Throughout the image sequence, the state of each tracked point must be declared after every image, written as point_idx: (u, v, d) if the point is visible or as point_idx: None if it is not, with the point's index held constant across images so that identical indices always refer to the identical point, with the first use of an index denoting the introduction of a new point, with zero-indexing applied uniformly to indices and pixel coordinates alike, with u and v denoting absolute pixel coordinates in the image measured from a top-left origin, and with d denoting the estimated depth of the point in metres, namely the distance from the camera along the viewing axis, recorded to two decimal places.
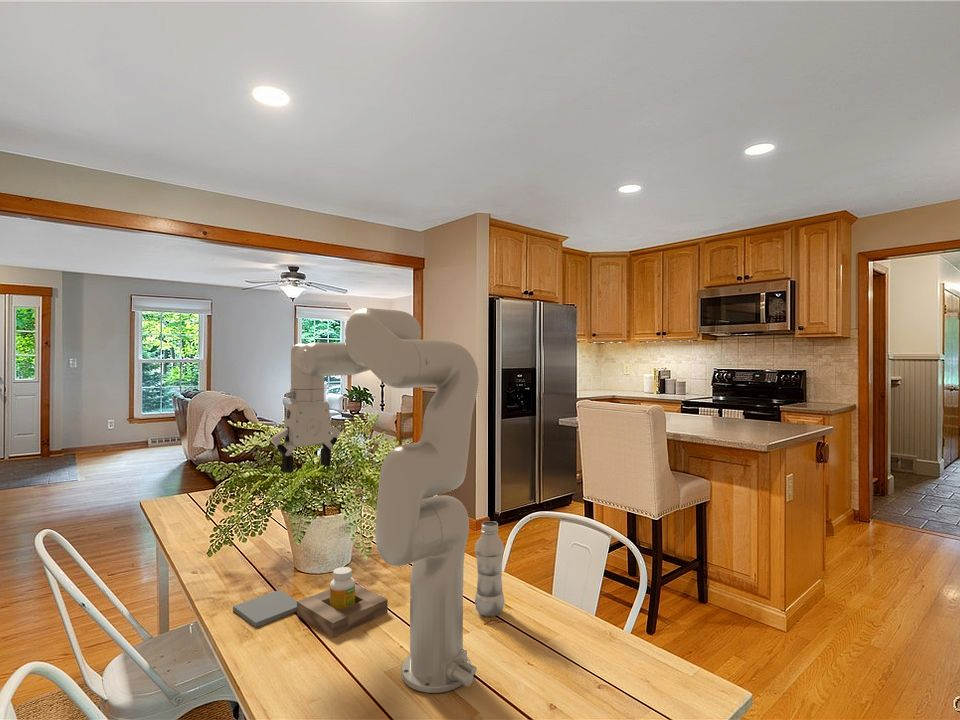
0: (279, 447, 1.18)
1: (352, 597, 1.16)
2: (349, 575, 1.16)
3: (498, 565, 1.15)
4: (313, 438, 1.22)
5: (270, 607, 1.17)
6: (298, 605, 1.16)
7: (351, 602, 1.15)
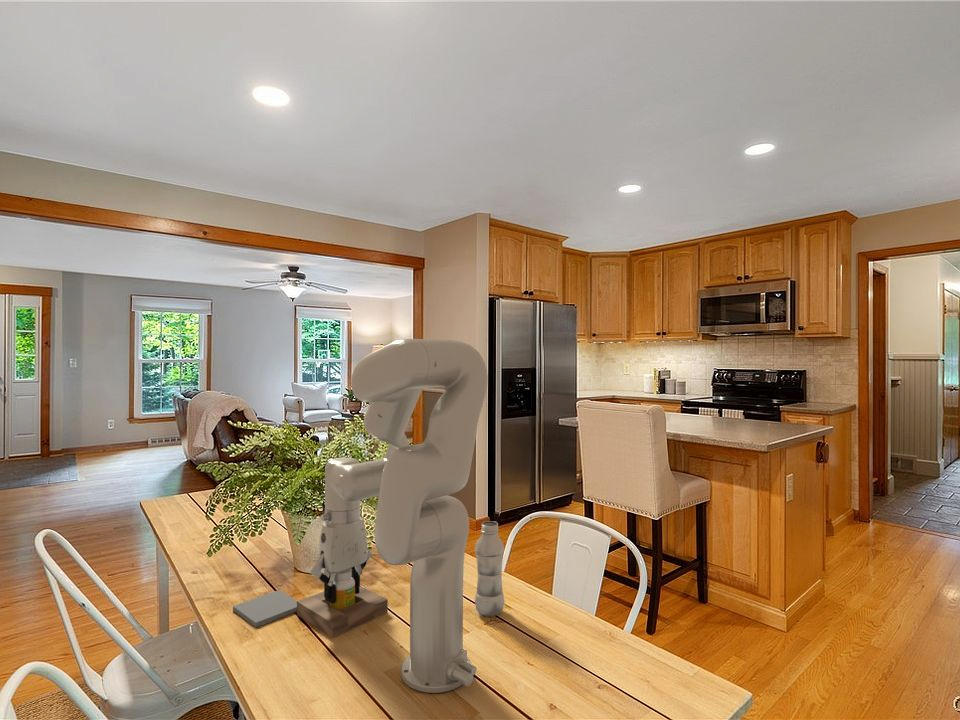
0: (322, 578, 1.12)
1: (352, 597, 1.16)
2: (349, 575, 1.16)
3: (498, 565, 1.15)
4: (349, 561, 1.15)
5: (270, 607, 1.17)
6: (298, 605, 1.16)
7: (351, 602, 1.15)
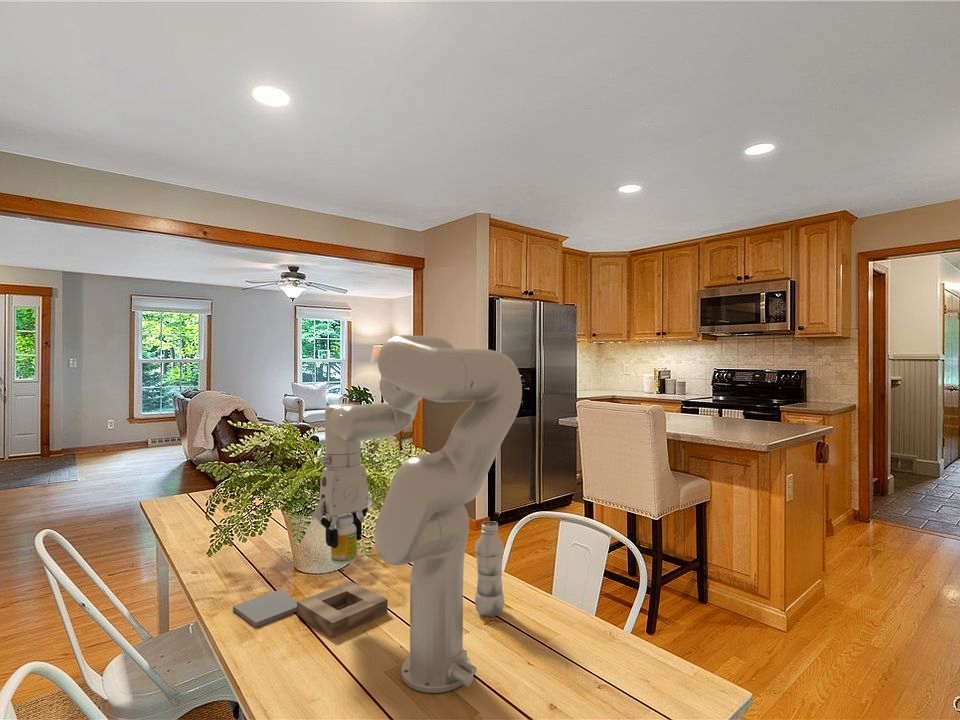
0: (323, 521, 1.11)
1: (353, 543, 1.15)
2: (350, 521, 1.15)
3: (498, 565, 1.15)
4: (350, 506, 1.14)
5: (270, 607, 1.17)
6: (298, 605, 1.16)
7: (352, 548, 1.15)
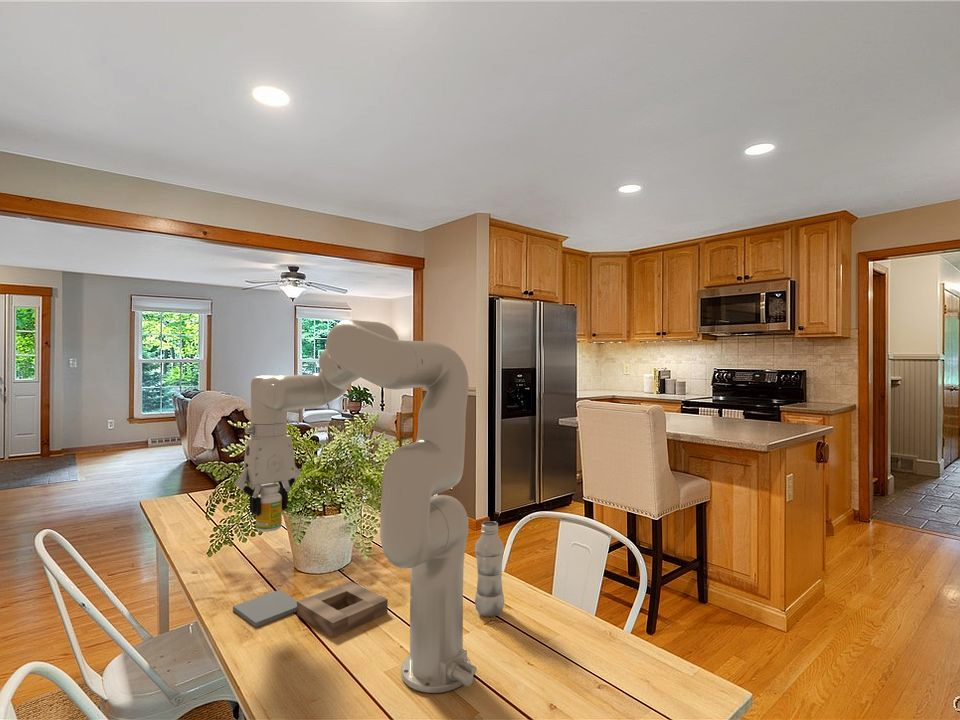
0: (245, 489, 1.13)
1: (278, 511, 1.17)
2: (275, 489, 1.17)
3: (498, 565, 1.15)
4: (274, 475, 1.16)
5: (270, 607, 1.17)
6: (298, 605, 1.16)
7: (276, 516, 1.17)
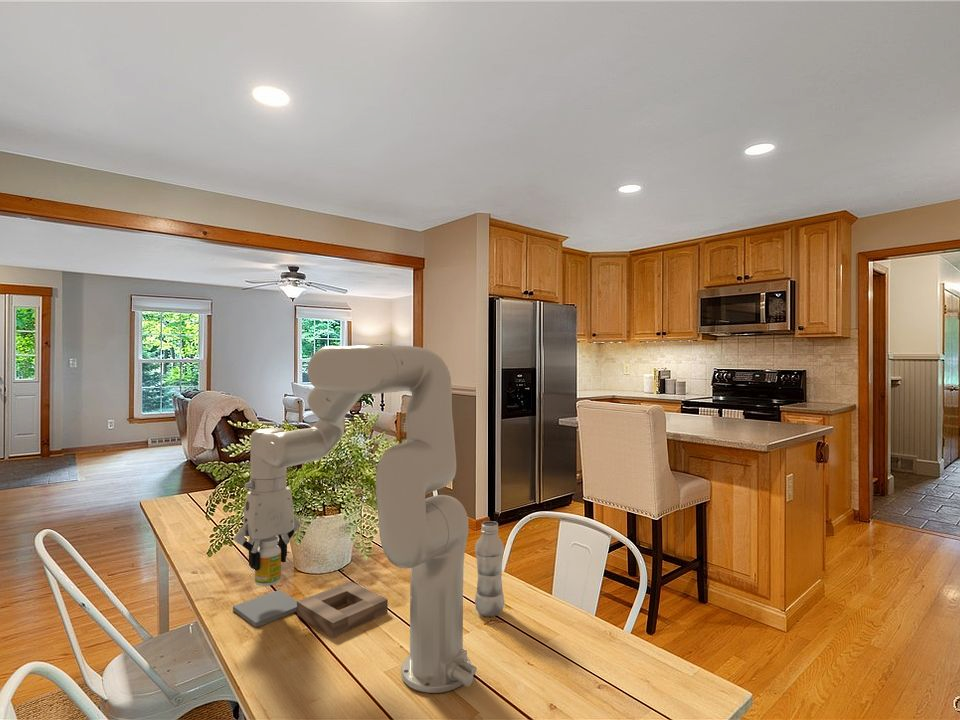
0: (245, 545, 1.14)
1: (277, 565, 1.17)
2: (274, 543, 1.17)
3: (498, 565, 1.15)
4: (274, 529, 1.16)
5: (270, 607, 1.17)
6: (298, 605, 1.16)
7: (275, 570, 1.17)
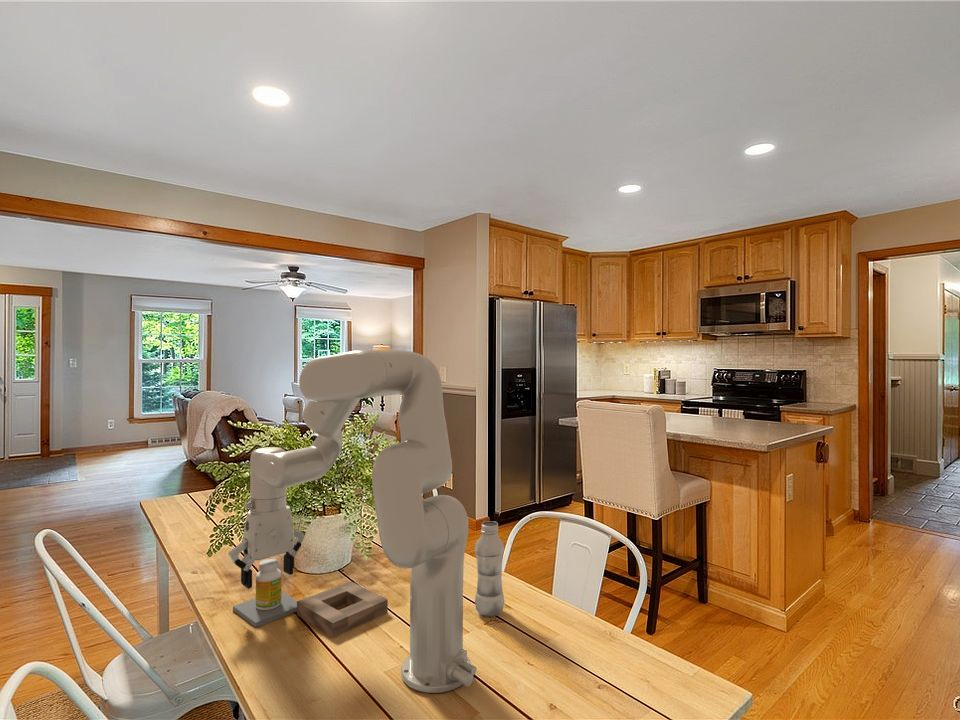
0: (237, 563, 1.12)
1: (277, 588, 1.17)
2: (275, 567, 1.17)
3: (498, 565, 1.15)
4: (274, 549, 1.16)
5: None
6: (298, 605, 1.16)
7: (276, 593, 1.17)
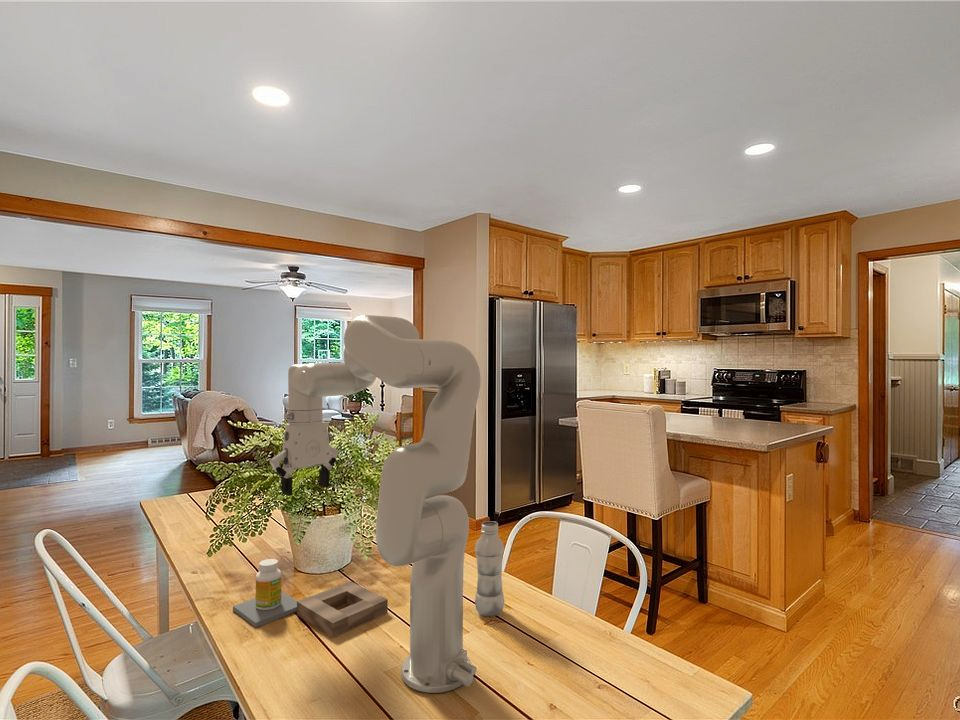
0: (278, 470, 1.17)
1: (277, 588, 1.17)
2: (274, 567, 1.17)
3: (498, 565, 1.15)
4: (312, 459, 1.21)
5: None
6: (298, 605, 1.16)
7: (276, 593, 1.17)
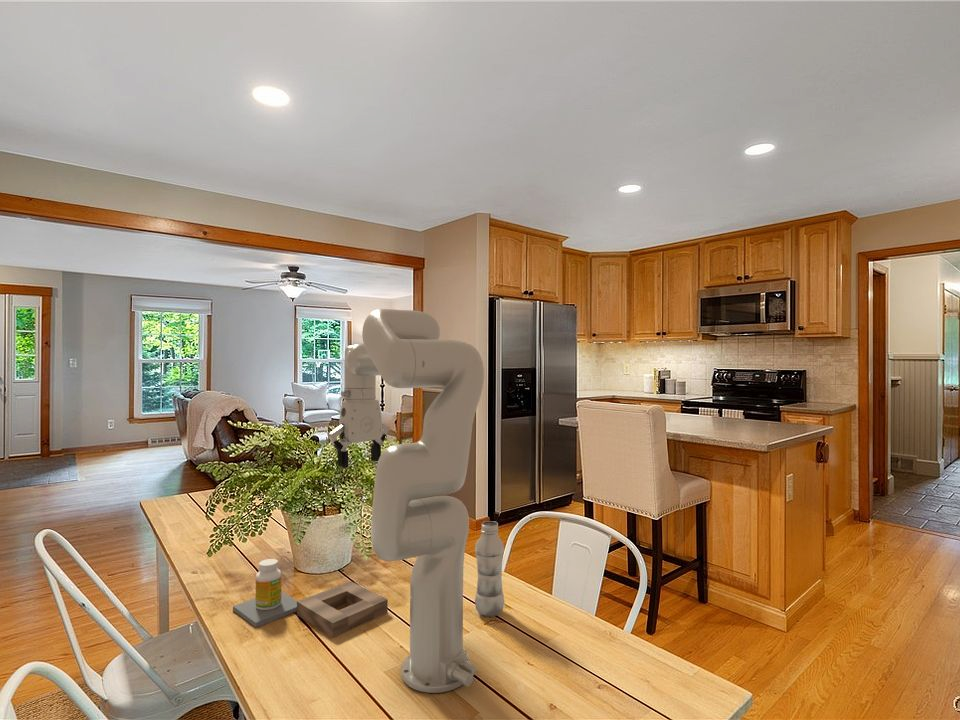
0: (336, 443, 1.24)
1: (277, 588, 1.17)
2: (274, 567, 1.17)
3: (498, 565, 1.15)
4: (366, 435, 1.29)
5: None
6: (298, 605, 1.16)
7: (276, 593, 1.17)
